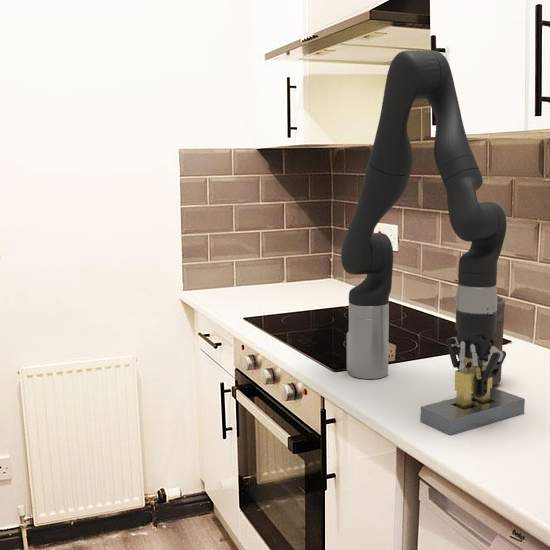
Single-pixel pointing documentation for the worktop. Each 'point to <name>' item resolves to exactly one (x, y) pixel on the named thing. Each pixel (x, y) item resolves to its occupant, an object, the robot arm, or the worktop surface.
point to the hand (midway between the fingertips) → (473, 393)
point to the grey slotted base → (471, 412)
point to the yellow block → (469, 388)
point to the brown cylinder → (499, 333)
